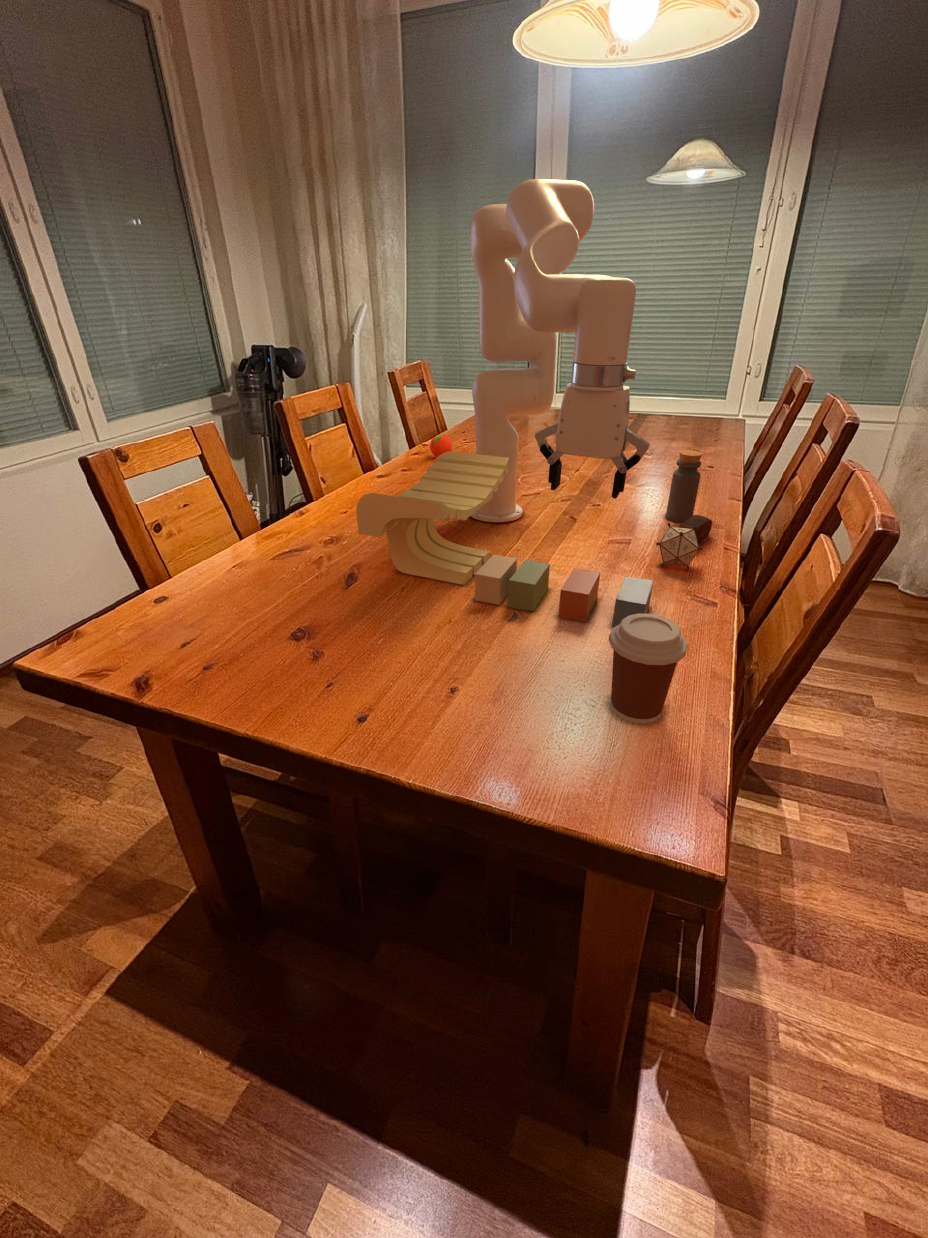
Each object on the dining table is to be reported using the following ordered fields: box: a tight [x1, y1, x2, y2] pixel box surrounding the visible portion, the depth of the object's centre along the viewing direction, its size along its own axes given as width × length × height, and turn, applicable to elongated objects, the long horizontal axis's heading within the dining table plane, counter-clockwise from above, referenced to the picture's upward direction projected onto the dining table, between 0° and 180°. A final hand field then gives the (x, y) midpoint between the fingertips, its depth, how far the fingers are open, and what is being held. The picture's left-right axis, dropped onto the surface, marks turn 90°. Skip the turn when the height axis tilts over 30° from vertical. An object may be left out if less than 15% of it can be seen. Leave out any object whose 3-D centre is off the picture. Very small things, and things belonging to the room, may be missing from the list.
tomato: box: [429, 434, 453, 458], centre depth 184 cm, size 8×7×7 cm
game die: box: [655, 522, 704, 571], centre depth 114 cm, size 9×8×10 cm
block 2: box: [507, 559, 551, 612], centre depth 103 cm, size 4×9×5 cm, turn 157°
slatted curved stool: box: [355, 450, 509, 586], centre depth 112 cm, size 30×16×18 cm, turn 156°
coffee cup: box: [608, 613, 688, 724], centre depth 75 cm, size 9×9×12 cm
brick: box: [677, 514, 713, 545], centre depth 126 cm, size 11×4×5 cm, turn 141°
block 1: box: [474, 554, 518, 606], centre depth 105 cm, size 4×9×5 cm, turn 157°
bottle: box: [665, 450, 703, 523], centre depth 136 cm, size 6×6×15 cm
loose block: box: [558, 567, 601, 623], centre depth 100 cm, size 4×9×5 cm, turn 157°
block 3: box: [611, 575, 654, 628], centre depth 97 cm, size 4×9×5 cm, turn 157°
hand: (584, 491), depth 95 cm, fingers open, 9 cm apart
